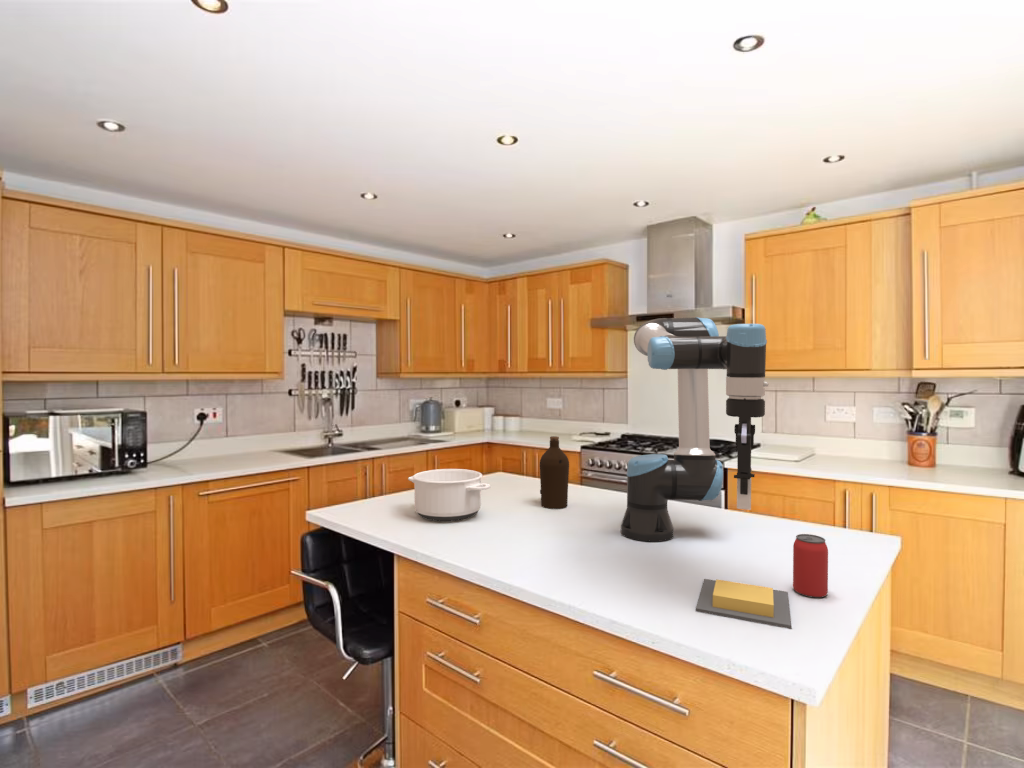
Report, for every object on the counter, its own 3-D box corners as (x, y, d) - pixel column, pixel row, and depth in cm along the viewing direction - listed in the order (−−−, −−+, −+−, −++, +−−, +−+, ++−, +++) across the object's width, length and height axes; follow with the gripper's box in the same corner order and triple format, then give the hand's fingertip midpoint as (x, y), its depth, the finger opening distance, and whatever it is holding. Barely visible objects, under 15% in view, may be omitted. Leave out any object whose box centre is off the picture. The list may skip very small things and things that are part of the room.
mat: (695, 611, 106) (695, 608, 106) (704, 581, 121) (704, 578, 121) (791, 628, 99) (791, 625, 99) (787, 594, 114) (787, 591, 114)
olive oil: (574, 505, 192) (574, 436, 191) (558, 511, 183) (558, 439, 183) (550, 500, 198) (550, 434, 198) (533, 506, 190) (533, 437, 190)
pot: (507, 514, 180) (507, 474, 179) (466, 531, 160) (466, 486, 160) (433, 501, 197) (433, 465, 197) (387, 515, 178) (387, 475, 177)
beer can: (786, 587, 118) (787, 533, 118) (814, 586, 119) (815, 532, 118) (805, 599, 111) (805, 542, 111) (834, 598, 112) (835, 542, 112)
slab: (716, 590, 115) (712, 606, 107) (716, 579, 115) (712, 594, 107) (772, 599, 110) (773, 617, 102) (772, 588, 110) (773, 605, 102)
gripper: (765, 399, 104) (763, 518, 105) (765, 396, 116) (763, 503, 117) (724, 398, 107) (722, 514, 108) (728, 395, 119) (726, 499, 120)
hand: (743, 508), depth 112 cm, fingers closed
